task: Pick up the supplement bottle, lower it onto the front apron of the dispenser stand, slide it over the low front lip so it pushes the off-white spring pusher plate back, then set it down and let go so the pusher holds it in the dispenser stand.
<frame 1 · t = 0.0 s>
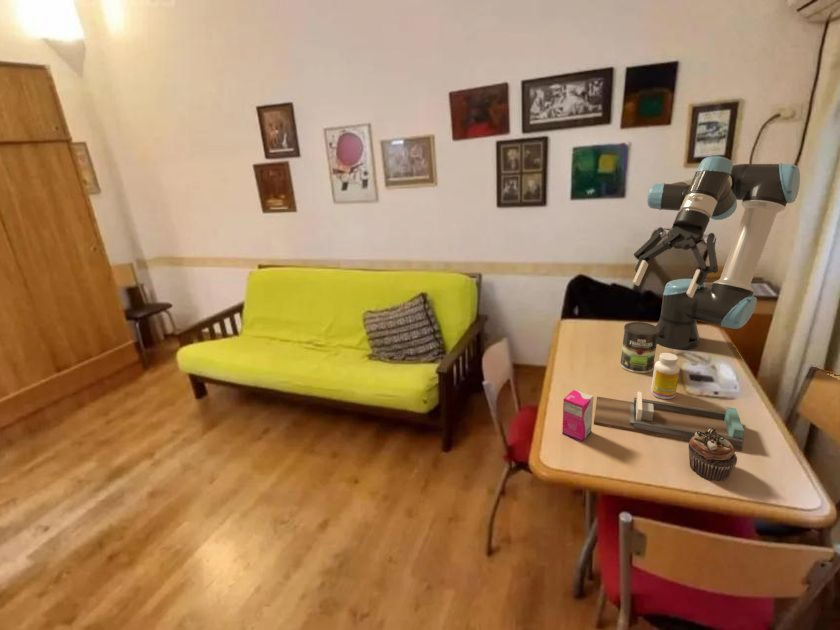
hand: (661, 289, 113), 36 cm above the table, fingers open, 13 cm apart
supplement box: (576, 433, 118), on the table
supplement bottle: (662, 394, 132), on the table
cupcake: (708, 469, 103), on the table
pusher: (644, 408, 120), point 3 cm above the table, slide at 0.0 cm
dispenser stand: (665, 422, 119), on the table
coffee can: (636, 366, 148), on the table
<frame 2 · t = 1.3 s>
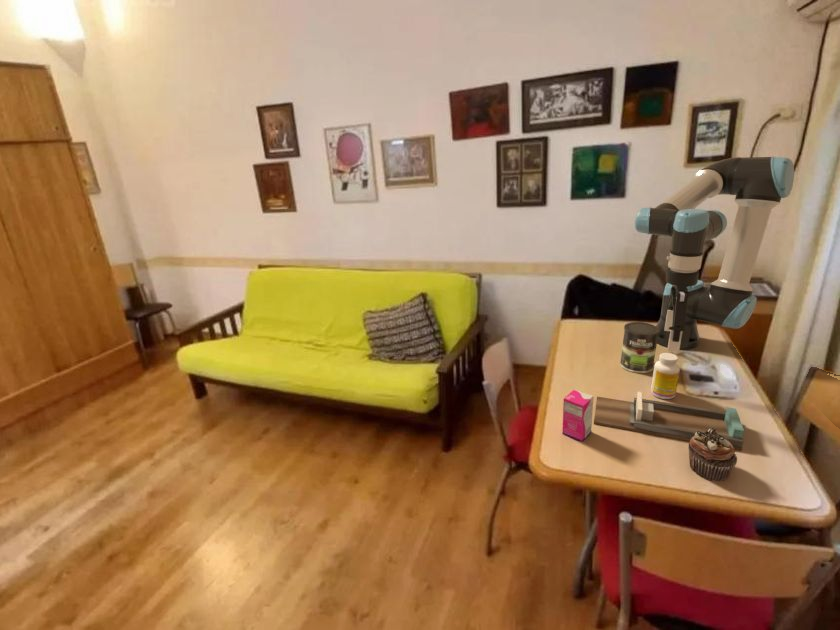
hand: (671, 340, 125), 18 cm above the table, fingers open, 13 cm apart
nothing on the table moved.
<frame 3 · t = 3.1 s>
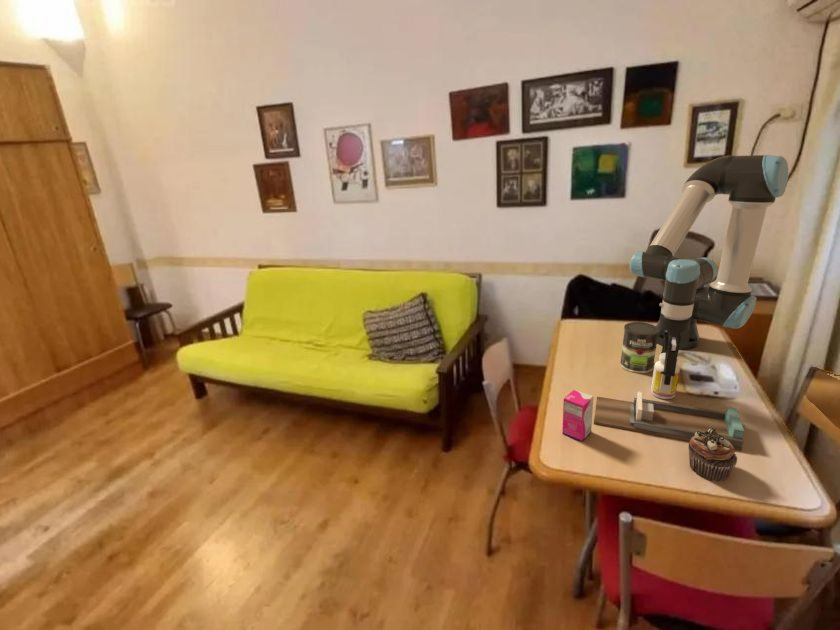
hand: (663, 385, 131), 3 cm above the table, fingers closed on supplement bottle, 7 cm apart
supplement bottle: (662, 394, 132), on the table, touching gripper
everything else where it was.
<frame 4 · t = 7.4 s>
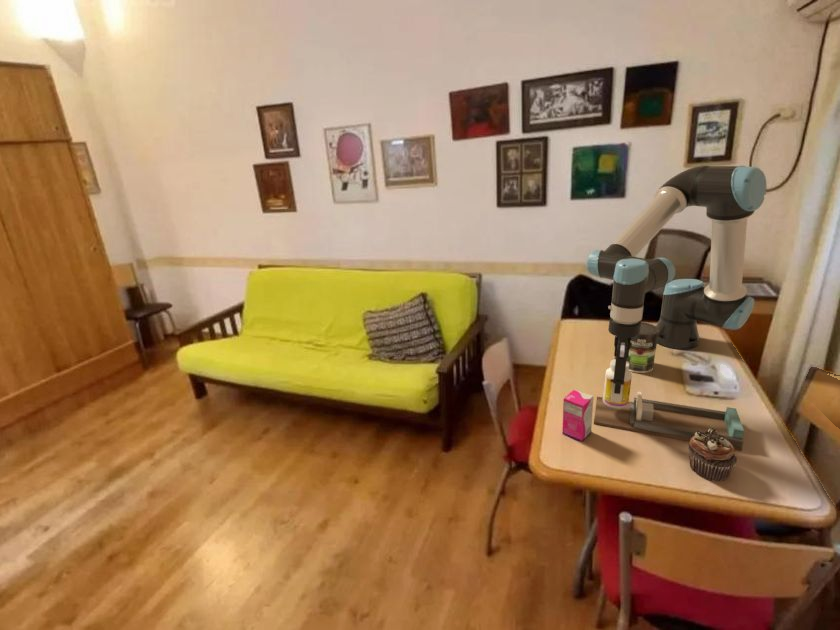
hand: (616, 394, 122), 7 cm above the table, fingers closed on supplement bottle, 7 cm apart
supplement bottle: (615, 403, 123), point 4 cm above the table, touching gripper
everything else where it was.
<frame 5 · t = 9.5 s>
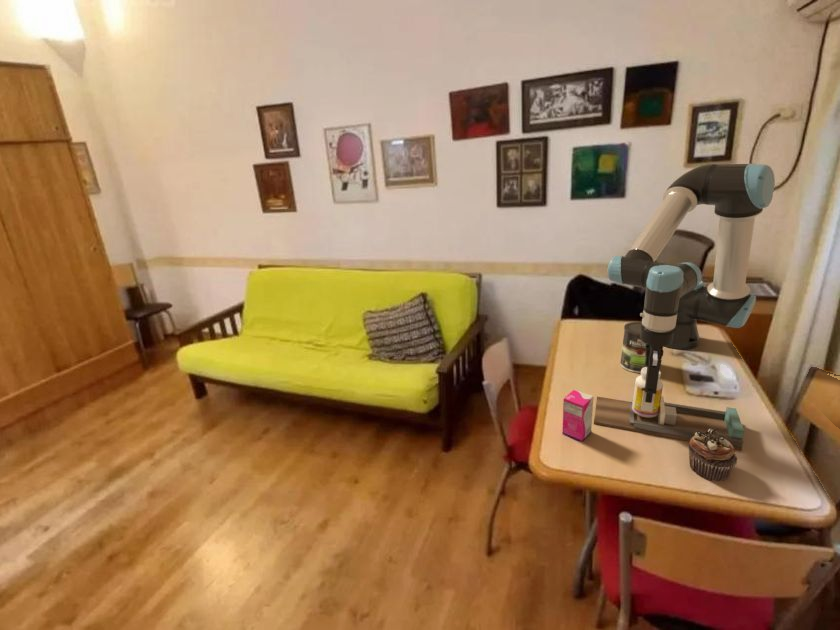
hand: (646, 402, 120), 5 cm above the table, fingers closed on supplement bottle, 7 cm apart
supplement bottle: (644, 412, 121), point 2 cm above the table, touching gripper, pusher
pusher: (667, 412, 118), point 3 cm above the table, slide at 5.4 cm, touching supplement bottle
everything else where it was.
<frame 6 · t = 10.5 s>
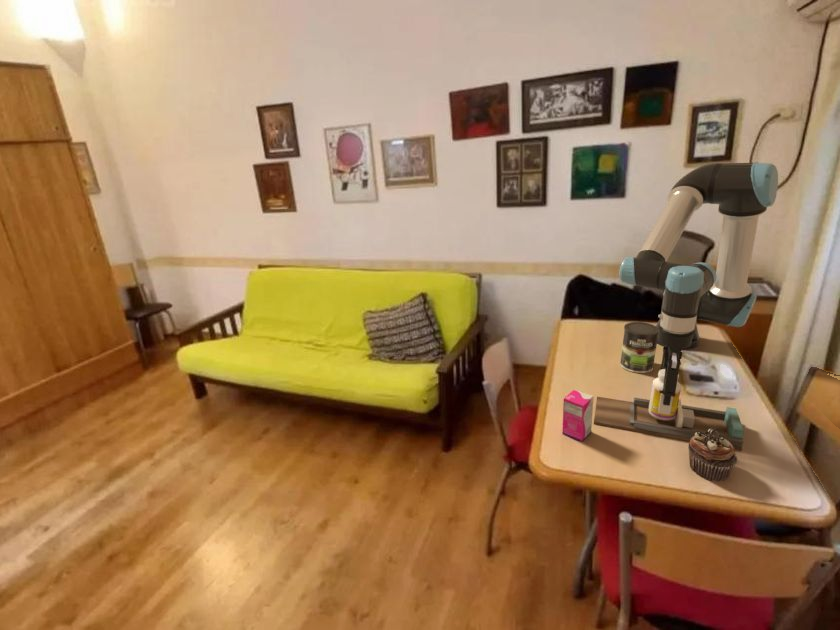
hand: (663, 405, 118), 5 cm above the table, fingers closed on supplement bottle, 7 cm apart
supplement bottle: (661, 414, 119), point 2 cm above the table, touching gripper, pusher
pusher: (684, 415, 116), point 3 cm above the table, slide at 9.5 cm, touching supplement bottle
everything else where it was.
when the fingers open (4 cm above the table, at t = 11.6 s): supplement bottle stays where it is, resting on dispenser stand.
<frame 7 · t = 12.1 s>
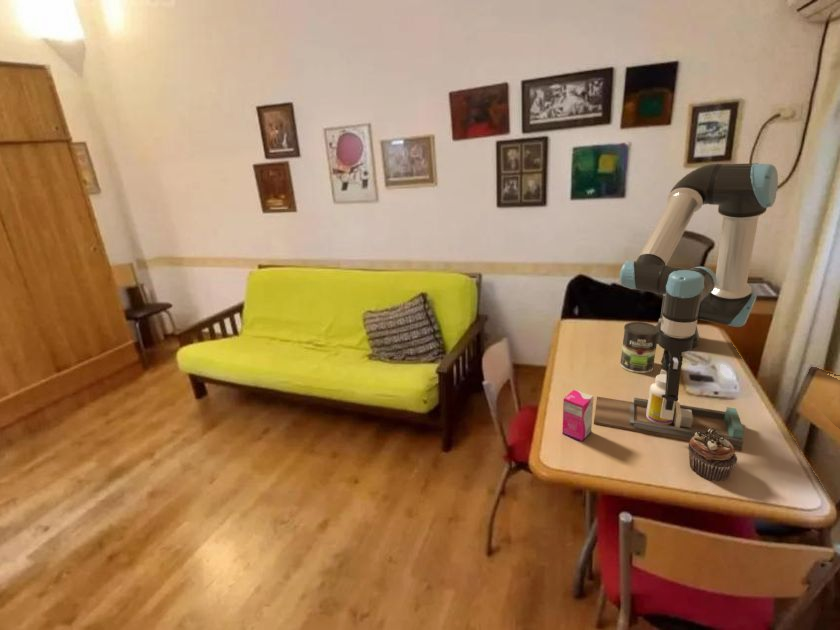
hand: (664, 404, 118), 6 cm above the table, fingers open, 13 cm apart
supplement bottle: (659, 419, 120), point 1 cm above the table, touching dispenser stand
pusher: (683, 414, 117), point 3 cm above the table, slide at 9.1 cm
everything else where it was.
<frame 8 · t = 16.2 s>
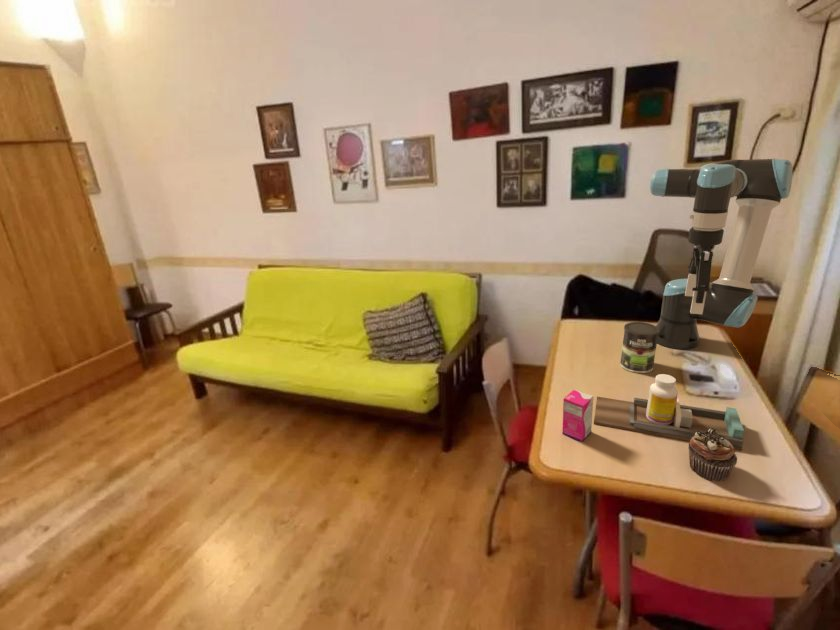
hand: (693, 304, 121), 29 cm above the table, fingers open, 13 cm apart
supplement bottle: (658, 419, 120), point 1 cm above the table, touching dispenser stand, pusher
pusher: (682, 414, 117), point 3 cm above the table, slide at 9.1 cm, touching supplement bottle
everything else where it was.
at the end: supplement bottle 0.8 cm from the target spot on the dispenser stand, point 0.6 cm above the dispenser stand's base; pusher slide at 9.1 cm; supplement bottle tilted 0° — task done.
